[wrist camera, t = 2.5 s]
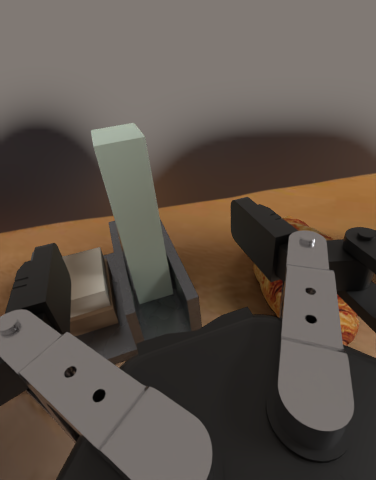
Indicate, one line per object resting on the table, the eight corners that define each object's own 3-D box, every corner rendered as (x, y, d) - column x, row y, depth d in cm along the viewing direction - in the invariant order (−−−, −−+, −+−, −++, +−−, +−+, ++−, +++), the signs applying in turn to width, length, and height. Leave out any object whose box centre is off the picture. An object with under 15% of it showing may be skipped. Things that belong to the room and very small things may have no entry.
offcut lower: (110, 271, 33) (106, 258, 32) (118, 322, 27) (113, 308, 26) (67, 283, 32) (61, 270, 31) (64, 339, 26) (56, 326, 25)
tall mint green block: (161, 265, 33) (133, 122, 24) (173, 293, 29) (144, 136, 20) (131, 273, 32) (90, 130, 23) (139, 304, 28) (93, 146, 19)
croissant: (260, 251, 41) (234, 209, 37) (331, 221, 37) (310, 171, 33) (292, 404, 23) (249, 353, 20) (432, 377, 19) (409, 308, 16)
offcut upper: (105, 261, 31) (99, 247, 30) (110, 305, 26) (105, 290, 25) (62, 272, 31) (55, 258, 29) (59, 321, 25) (50, 306, 24)
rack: (163, 245, 38) (157, 210, 35) (202, 333, 26) (198, 292, 23) (46, 277, 35) (27, 242, 32) (29, 393, 23) (-4, 355, 20)
